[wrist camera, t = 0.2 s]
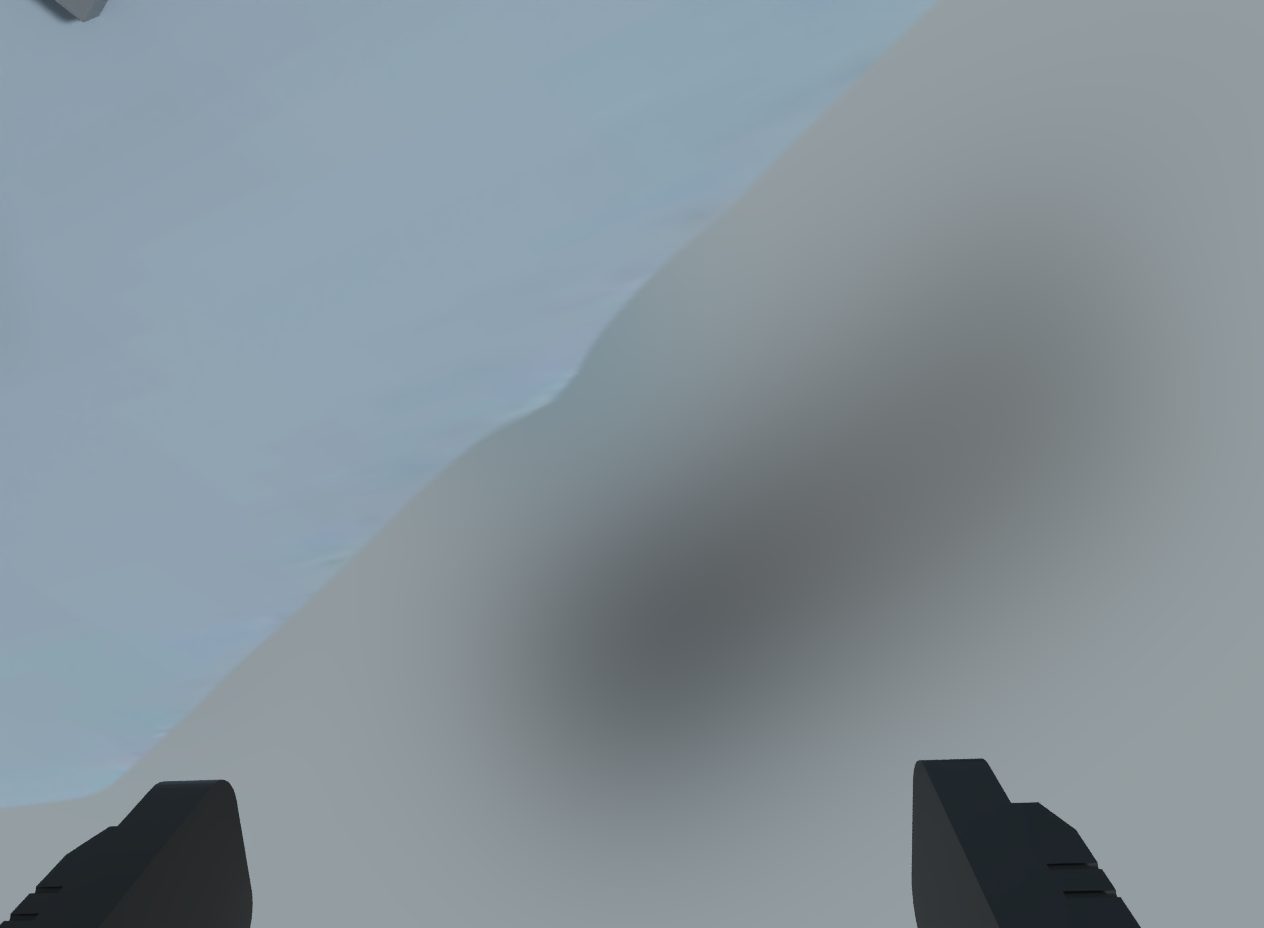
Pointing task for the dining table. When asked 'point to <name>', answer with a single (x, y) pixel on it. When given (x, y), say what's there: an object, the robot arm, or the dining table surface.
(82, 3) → the pin tray
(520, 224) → the dining table surface
